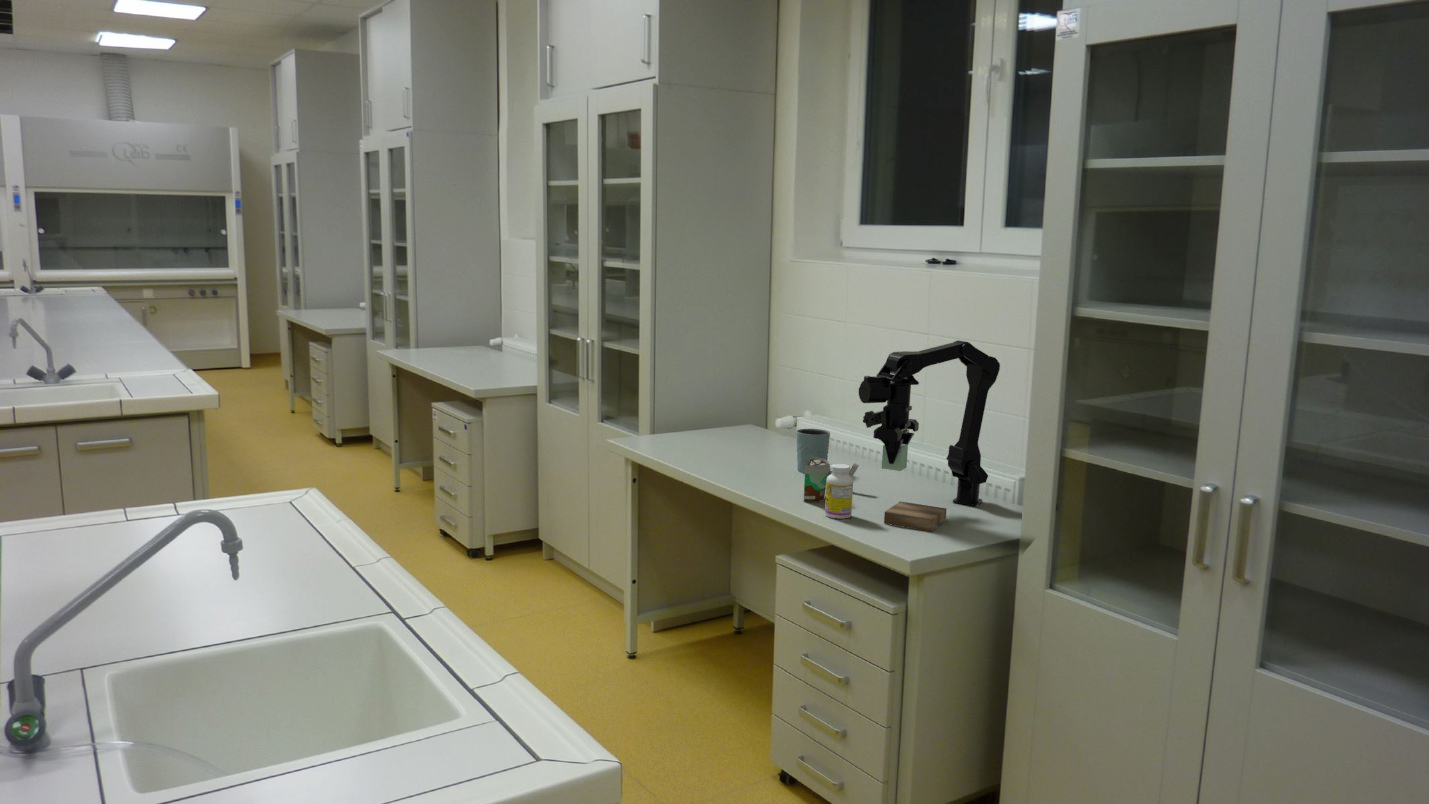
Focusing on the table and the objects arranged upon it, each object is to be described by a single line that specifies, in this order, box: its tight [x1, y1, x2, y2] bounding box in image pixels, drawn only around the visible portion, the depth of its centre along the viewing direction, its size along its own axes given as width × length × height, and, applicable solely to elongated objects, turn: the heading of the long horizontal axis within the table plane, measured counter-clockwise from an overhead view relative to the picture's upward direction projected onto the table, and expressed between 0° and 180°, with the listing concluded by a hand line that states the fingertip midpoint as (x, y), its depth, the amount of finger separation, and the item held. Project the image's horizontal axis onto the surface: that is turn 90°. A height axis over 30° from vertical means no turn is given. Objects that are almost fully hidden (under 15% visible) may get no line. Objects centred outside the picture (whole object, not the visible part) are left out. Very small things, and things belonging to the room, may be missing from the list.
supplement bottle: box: [824, 463, 854, 520], centre depth 252 cm, size 7×7×13 cm
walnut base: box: [883, 500, 948, 532], centre depth 250 cm, size 12×12×3 cm
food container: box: [803, 457, 831, 503], centre depth 269 cm, size 12×6×10 cm, turn 168°
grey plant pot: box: [795, 428, 831, 474], centre depth 300 cm, size 10×10×12 cm
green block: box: [881, 444, 909, 472], centre depth 260 cm, size 5×5×6 cm
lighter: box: [849, 462, 860, 478], centre depth 278 cm, size 7×2×8 cm, turn 69°
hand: (894, 461), depth 260 cm, fingers closed on green block, 5 cm apart
